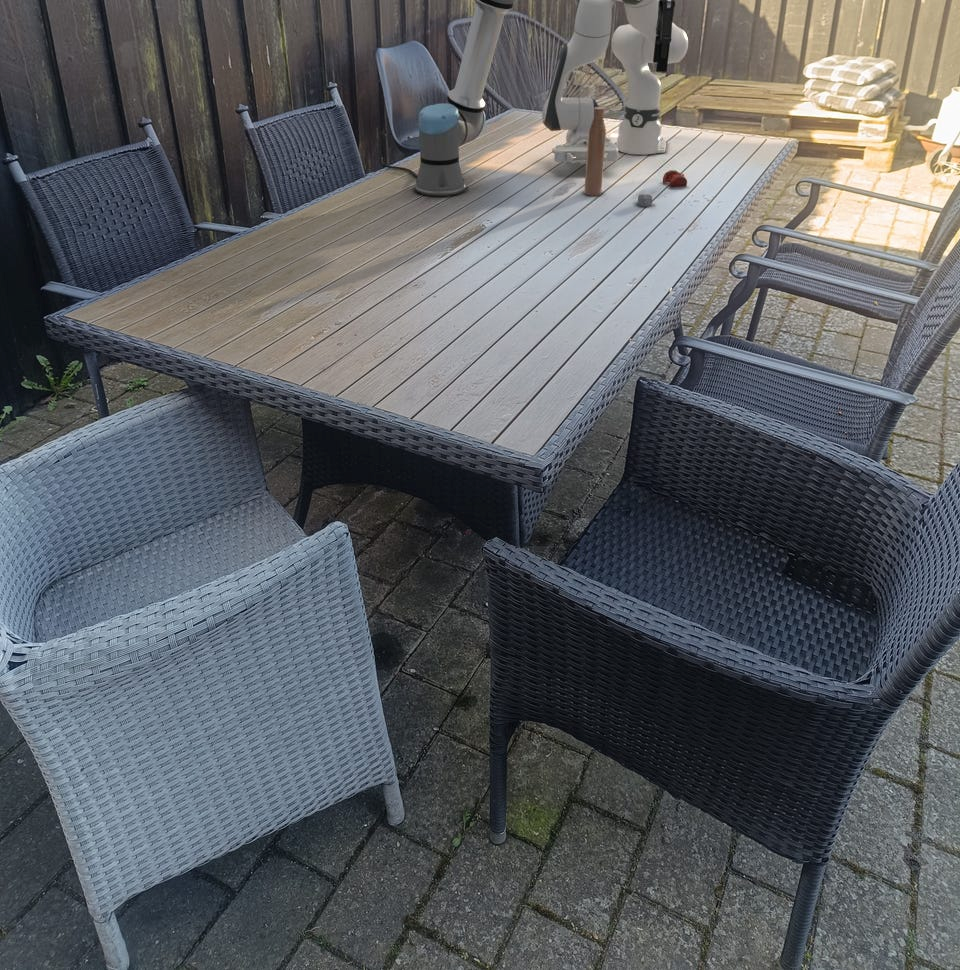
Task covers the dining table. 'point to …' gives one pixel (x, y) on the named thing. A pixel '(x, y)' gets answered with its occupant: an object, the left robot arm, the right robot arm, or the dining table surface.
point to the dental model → (675, 179)
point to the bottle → (595, 154)
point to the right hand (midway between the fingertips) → (588, 160)
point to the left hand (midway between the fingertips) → (659, 67)
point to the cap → (644, 200)
